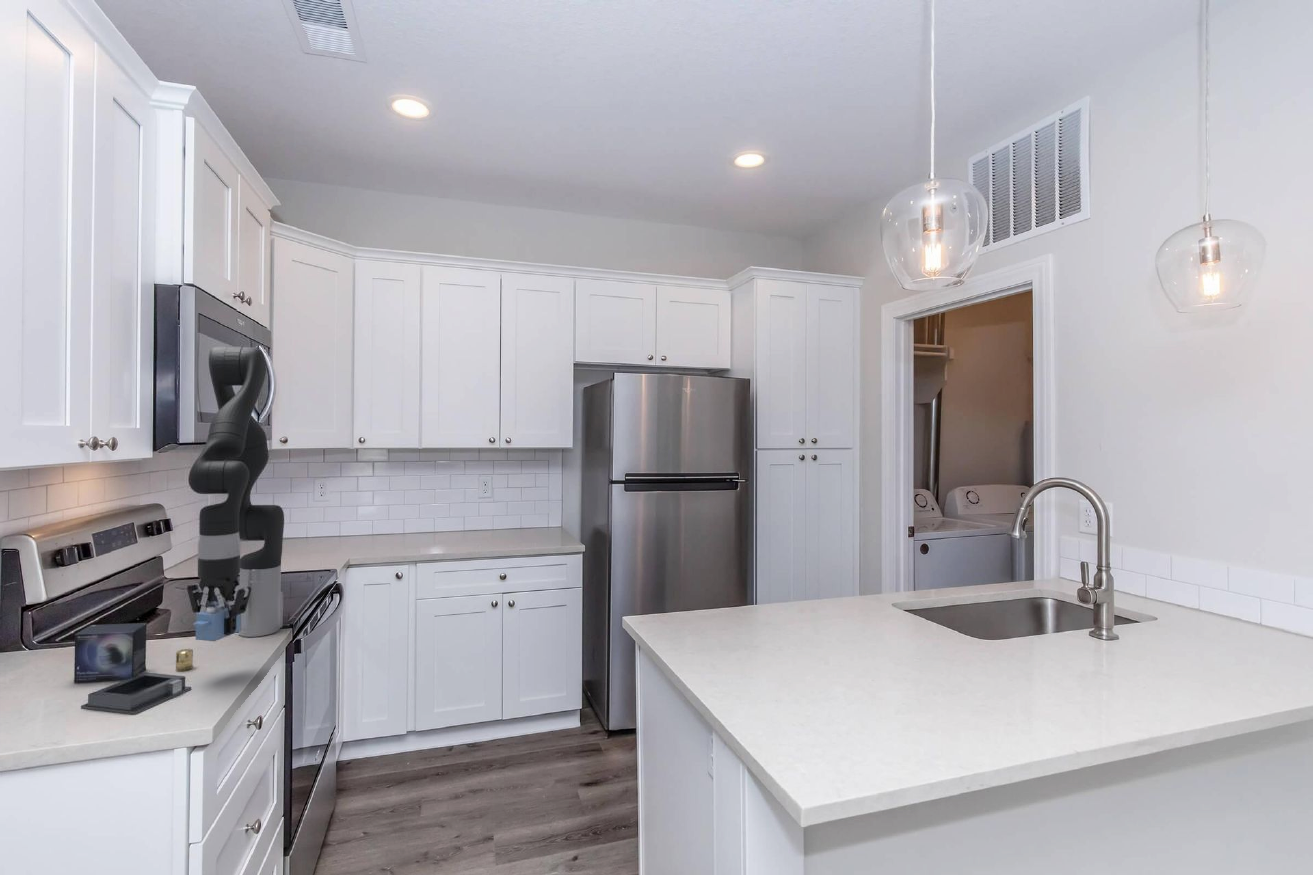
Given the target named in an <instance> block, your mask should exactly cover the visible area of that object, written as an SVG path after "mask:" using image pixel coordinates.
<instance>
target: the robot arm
mask: <svg viewBox="0 0 1313 875" xmlns="http://www.w3.org/2000/svg"><path fill="white" fill-rule="evenodd" d="M208 370H209V374H210V379H211V383H212V387H213V393H214V396H215V401H216V404H217V409H218V410H217V412H216V413H215V414H214V416H213V418H212V419H211V422H210V425H209V429H208V435H207V439H206V443H205V445H204V447H203V449H202V450H201V453H199V455H198V457H197V458H196V460H195V461H194V462H193V464H192V466H191V468H190V470H189V474H188V485H189V487H190V489H191V490H192V491H193V492H195V493H196V494H199V495H219V494H222V495H227V498H226V499H225V500H224V501H223V502H220V503H216V504H210V505H209V504H208V505H207V506H206V505H205V506H203V507H202V508H201V509H200V510H199V524H198V525H199V527H198V528H199V531H198V532H199V536H198V542H197V577H198V578H199V579H200V580H199V582H195V583H192V584H189V585H187V586H186V589H187V594H188V598H189V602H190V607H191V610H192V612H193V613H195V614H196V613H199V612H202V611H205V610H207V608H208V607H216V606H217V604H218V606H220V608H221V609H223V612H224V617H225V618H224V635H229V636H231V635H230V634H232V635H234V634H235V633H234V632H235V631H236V617H237V615H239V614H241V631H239V632H238V635H239V636H241V637H247V638H248V637H249V638H250V637H252V638H254V637H263V636H267V635H268V636H269V635H272V634H274V633H277V632H278V631H280V629H281V628H283V621H284V620H283V619H284V616H283V612H284V610H283V608H284V592H283V591H281V590H282V589H281V588H282V586H281V585H282V582H281V580H282V579H281V578H282V555H283V542H284V530H285V514H284V510H283V508H282V507H281V505H276V504H252V502H251V501H252V500H251V493H252V489H253V487H254V485H255V483H256V482H257V480H258V479H259V478H260V476H261V474H262V473H263V471H264V470H265V468H266V466H267V464H268V461H269V448H268V446H269V445H268V440H267V434H266V432H265V430H264V428H262V426H261V425H260V424H259V423H258V421H257V420H256V419H255V418H254V417H253V416H252V414H253V412H254V409H255V407H256V404H257V401H258V399H259V396H260V393H261V391H262V388H263V386H264V383H265V379H266V374H267V360H266V357H265V355H264V352H263V351H262V350H261V349H260V348H259V347H254V346H253V347H251V346H214V347H213V348H211V349H210V351H209V354H208ZM234 386H241V388H240V389H239V390H238V391H237V392H236V393H235V390H234ZM241 541H263V542H264V543H263V546H262V547H261V548H260V549H258V550H256V551H253V552H250V553H245V554H244V555H242V556H241ZM238 577H239V578H238ZM238 579H239V580H238ZM229 606H230V609H231V611H230V609H229ZM233 633H234V634H233Z"/></svg>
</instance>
